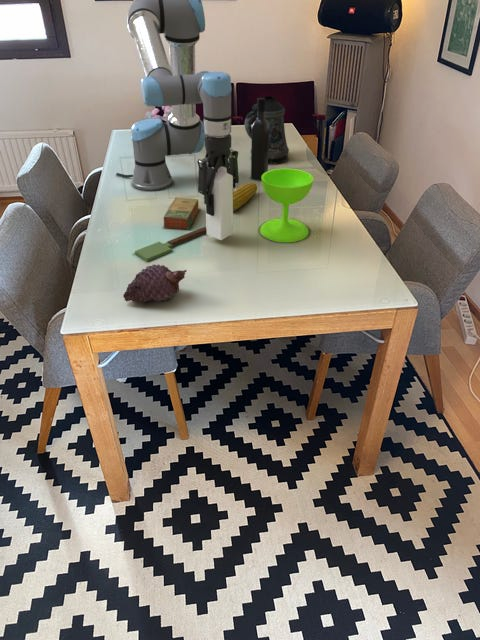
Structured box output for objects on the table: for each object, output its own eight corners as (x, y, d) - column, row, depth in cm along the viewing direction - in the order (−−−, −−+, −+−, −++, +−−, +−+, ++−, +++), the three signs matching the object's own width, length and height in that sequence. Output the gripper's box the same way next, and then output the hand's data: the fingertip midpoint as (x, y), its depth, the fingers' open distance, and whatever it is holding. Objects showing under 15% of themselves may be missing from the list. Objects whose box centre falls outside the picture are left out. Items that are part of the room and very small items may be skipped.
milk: (218, 228, 165) (216, 160, 152) (233, 233, 162) (233, 164, 149) (206, 235, 161) (203, 166, 148) (221, 240, 158) (220, 170, 145)
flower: (157, 132, 249) (140, 87, 228) (202, 129, 246) (190, 83, 224) (150, 162, 240) (132, 119, 218) (197, 160, 236) (183, 116, 214)
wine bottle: (250, 179, 205) (251, 99, 187) (255, 174, 209) (256, 95, 191) (263, 181, 203) (265, 100, 185) (268, 176, 207) (271, 97, 190)
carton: (199, 209, 181) (198, 198, 179) (188, 230, 169) (187, 218, 166) (176, 208, 182) (175, 196, 180) (163, 228, 170) (162, 216, 167)
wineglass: (275, 246, 160) (278, 191, 149) (251, 226, 171) (252, 173, 160) (318, 235, 166) (323, 181, 155) (292, 216, 177) (295, 165, 166)
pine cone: (130, 316, 130) (113, 280, 128) (132, 312, 139) (117, 278, 138) (195, 289, 131) (179, 253, 129) (192, 287, 141) (178, 253, 139)
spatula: (147, 261, 152) (146, 257, 151) (135, 253, 156) (134, 249, 155) (212, 234, 166) (212, 230, 165) (200, 228, 170) (200, 224, 169)
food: (236, 215, 178) (236, 198, 174) (221, 212, 180) (221, 196, 176) (260, 193, 193) (260, 177, 190) (246, 190, 195) (246, 175, 192)
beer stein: (294, 156, 227) (298, 96, 212) (273, 169, 213) (275, 106, 199) (262, 149, 234) (264, 90, 219) (239, 162, 221) (239, 100, 206)
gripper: (199, 145, 135) (202, 224, 149) (252, 129, 146) (250, 205, 160) (181, 138, 140) (186, 216, 154) (234, 123, 150) (234, 197, 164)
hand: (219, 210), depth 157 cm, fingers closed on milk, 7 cm apart
